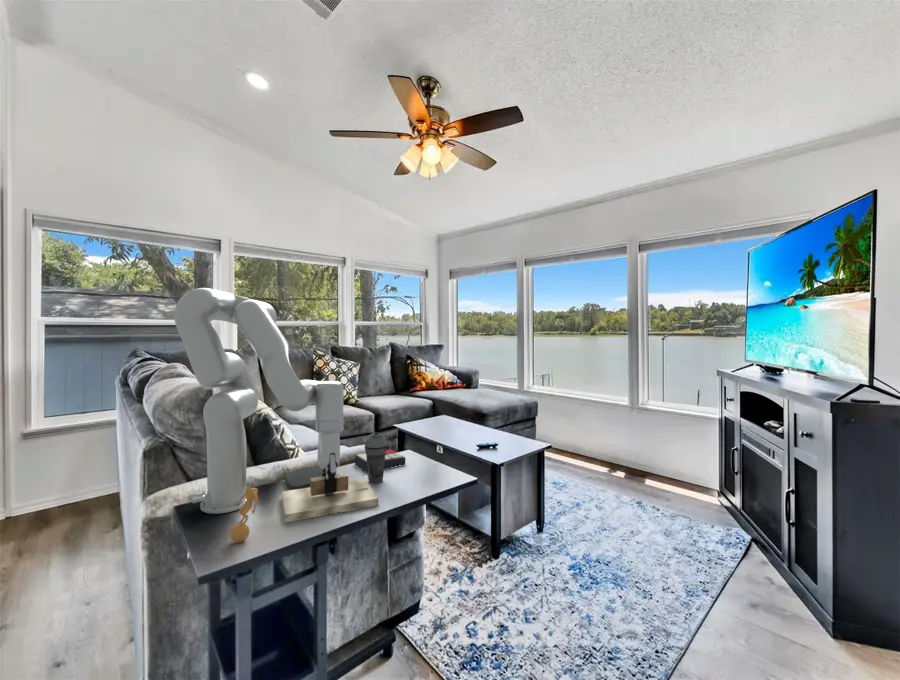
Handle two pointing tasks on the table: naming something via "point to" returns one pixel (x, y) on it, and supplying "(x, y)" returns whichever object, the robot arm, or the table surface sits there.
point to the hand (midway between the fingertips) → (329, 488)
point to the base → (327, 501)
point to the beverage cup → (375, 456)
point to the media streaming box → (302, 477)
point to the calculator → (390, 460)
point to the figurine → (244, 516)
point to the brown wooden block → (319, 484)
